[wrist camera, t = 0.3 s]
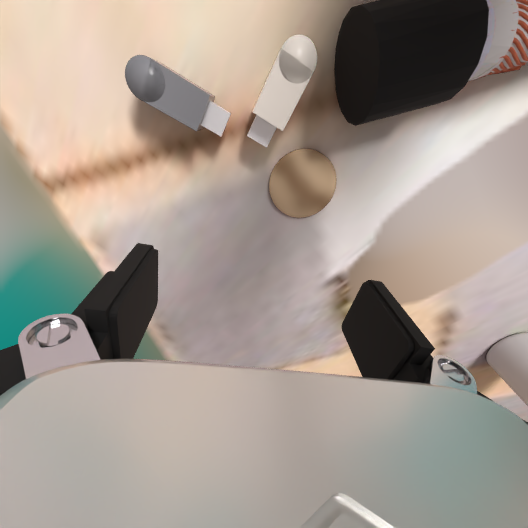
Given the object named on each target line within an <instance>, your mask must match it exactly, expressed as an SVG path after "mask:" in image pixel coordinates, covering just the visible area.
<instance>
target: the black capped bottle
mask: <svg viewBox="0 0 528 528" xmlns="http://www.w3.org/2000/svg"><path fill="white" fill-rule="evenodd" d="M525 63H528V0H378V1H374V2H370V3H366V4H363V5H359V6H356V7H352V8H351V9H350V11H349V12H348V14H347V15H346V17H345V18H344V20H343V22H342V25H341V28H340V32H339V36H338V41H337V46H336V54H335V69H334V70H335V86H336V93H337V98H338V102H339V106H340V109H341V112H342V114H343V115H344V117H345V118H346V120H347V121H348V122H349V123H351V124H353V125H359V124H363V123H367V122H371V121H374V120H378V119H382V118H386V117H389V116H393V115H397V114H401V113H404V112H408V111H412V110H416V109H419V108H423V107H427V106H431V105H434V104H438V103H441V102H444V101H447V100H450V99H451V98H452V97H454V96H455V95H456V94H457V93H458V92H459V91H460V90H461V89H462V88H463V87H464V86H465V85H466V84H467V82H468V81H470V80H474V79H478V78H480V77H484V76H486V75H491V74H498V73H504V72H509V71H514V70H520V67H521V65H525Z"/></svg>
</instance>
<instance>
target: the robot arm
mask: <svg viewBox="0 0 528 528" xmlns="http://www.w3.org/2000/svg"><path fill="white" fill-rule="evenodd" d="M157 302H158V250H156V249H154V247H153V245H147V244H140V243H138V244H136V246H135V247H134V248H133V249H132V251H131V252H130V253H129V254H128V255H127V257H126V258H125V259H124V260H123V262H122V263H121V264H120V265H119V266H118V268H117V269H116V270H115V271H109V272H107V273H106V274H105V275H104V277H103V278H102V279H101V280H100V281H99V282H98V284H97V285H96V286H95V287H94V288H93V289H92V291H91V292H90V293H89V294H88V295H87V296H86V298H85V299H84V300H83V301H82V302H81V303H80V305H79V306H78V307H77V308H76V309H75V310H74V312H73V313H72V314H55V315H50V316H46V317H44V318H41V319H38V320H36V321H35V322H33V323H31V324H29V325H28V326H27V327H26V328H25V329H24V330H23V331H22V332H21V334H20V336H19V341H18V343H19V344H17V345H14V346H11V347H8V348H6V349H3V350H0V528H528V422H526V421H524V420H523V419H521V418H520V417H519V416H517V415H516V414H515V413H513V412H512V411H510V410H508V409H507V408H505V407H503V406H502V405H500V404H498V403H496V402H494V401H492V400H491V399H489V398H488V397H486V396H484V395H483V394H481V393H480V392H478V391H477V385H476V381H475V379H474V377H473V376H472V374H471V373H470V372H469V371H468V370H467V369H466V368H465V367H464V366H463V365H461V364H460V363H459V362H457V361H455V360H454V359H452V358H449V357H447V356H443V355H437V356H435V357H434V358H433V357H432V356H431V355H430V354H431V353H432V352H433V350H434V349H435V348H434V347H433V346H432V344H431V343H430V342H429V341H428V339H427V338H426V337H425V336H424V334H423V333H422V332H421V331H420V329H419V328H418V327H417V326H416V324H415V323H414V322H413V321H412V319H411V318H410V317H409V316H408V314H407V313H406V312H405V310H404V309H403V308H402V307H401V305H400V304H399V303H398V302H397V300H396V299H395V298H394V297H393V295H392V294H391V293H390V292H389V290H388V289H387V288H386V287H385V285H384V284H383V283H382V282H380V281H374V280H368V281H366V282H364V283H363V284H362V286H361V288H360V290H359V292H358V294H357V296H356V298H355V300H354V301H353V303H352V305H351V307H350V309H349V311H348V313H347V315H346V317H345V319H344V321H343V323H342V331H343V333H344V336H345V338H346V340H347V342H348V345H349V347H350V349H351V352H352V354H353V356H354V358H355V361H356V363H357V365H358V367H359V370H360V372H361V374H362V377H356V376H346V375H335V374H324V373H313V372H301V371H290V370H279V369H267V368H255V367H243V366H231V365H219V364H207V363H194V362H181V361H167V360H148V359H133V357H134V355H135V353H136V351H137V349H138V346H139V344H140V342H141V340H142V338H143V335H144V333H145V331H146V329H147V327H148V324H149V322H150V320H151V318H152V316H153V313H154V311H155V309H156V306H157Z"/></svg>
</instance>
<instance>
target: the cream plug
mask: <svg viewBox="0 0 528 528" xmlns="http://www.w3.org/2000/svg"><path fill="white" fill-rule="evenodd" d="M316 64H317V52H316V48H315V45H314V44H313V42H312V41H311V40H310V39H309V38H308V37H307V36H304V35H294V36H292V37H290V38H289V39H288V40H286V42H285V43H284V44H283V46H282V48H281V49H280V51H279V53H278V55H277V57H276V59H275V61H274V64H273V66H272V68H271V70H270V72H269V75H268V77H267V79H266V81H265V84H264V86H263V88H262V90H261V93H260V95H259V97H258V99H257V101H256V104H255V106H254V108H253V110H252V112H253V113H255V114H256V117H255V119H254V121H253V123H252V125H251V127H250V130H249V132H248V134H247V136H248V137H250V138H251V139H253V140H255V141H256V142H258V143H260V144H261V145H263V146H265V147H266V148H267V146H268V144H269V142H270V140H271V138H272V136H273V134H274V132H275V130H276V128H278V129H280V130H282V131H283V130H284V128H285V126H286V124H287V122H288V120H289V118H290V116H291V115H292V113H293V111H294V109H295V107H296V105H297V103H298V101H299V99H300V97H301V95H302V93H303V91H304V89H305V88H306V86H307V84H308V82H309V80H310V78H311V76H312V74H313V72H314V70H315V67H316Z"/></svg>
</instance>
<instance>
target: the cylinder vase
mask: <svg viewBox="0 0 528 528" xmlns="http://www.w3.org/2000/svg"><path fill="white" fill-rule="evenodd" d="M486 360H487V362H488V364H489V365H490V366H491V367H492V368H493V369H494V370H495V372H496V373H497V374H498V375H499V376H500V377H501V378H502V379H503V380H504V381H505V382H506V383H507V384H508V385H509V387H510V388H511V389H512V390H513V391H514V392H515V393H516V394H517V395H518V396H519V397H520V398H521V399H522V400H523V402H524V403H525V404H526V405H527V406H528V332H526V333H518V334H514V335H511V336H508V337H506V338H504V339H502V340H500V341H499V342H497V343H496V344H495V345H494V346H492V347H491V349H490V350H489V351H488V353H487V356H486Z"/></svg>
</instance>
